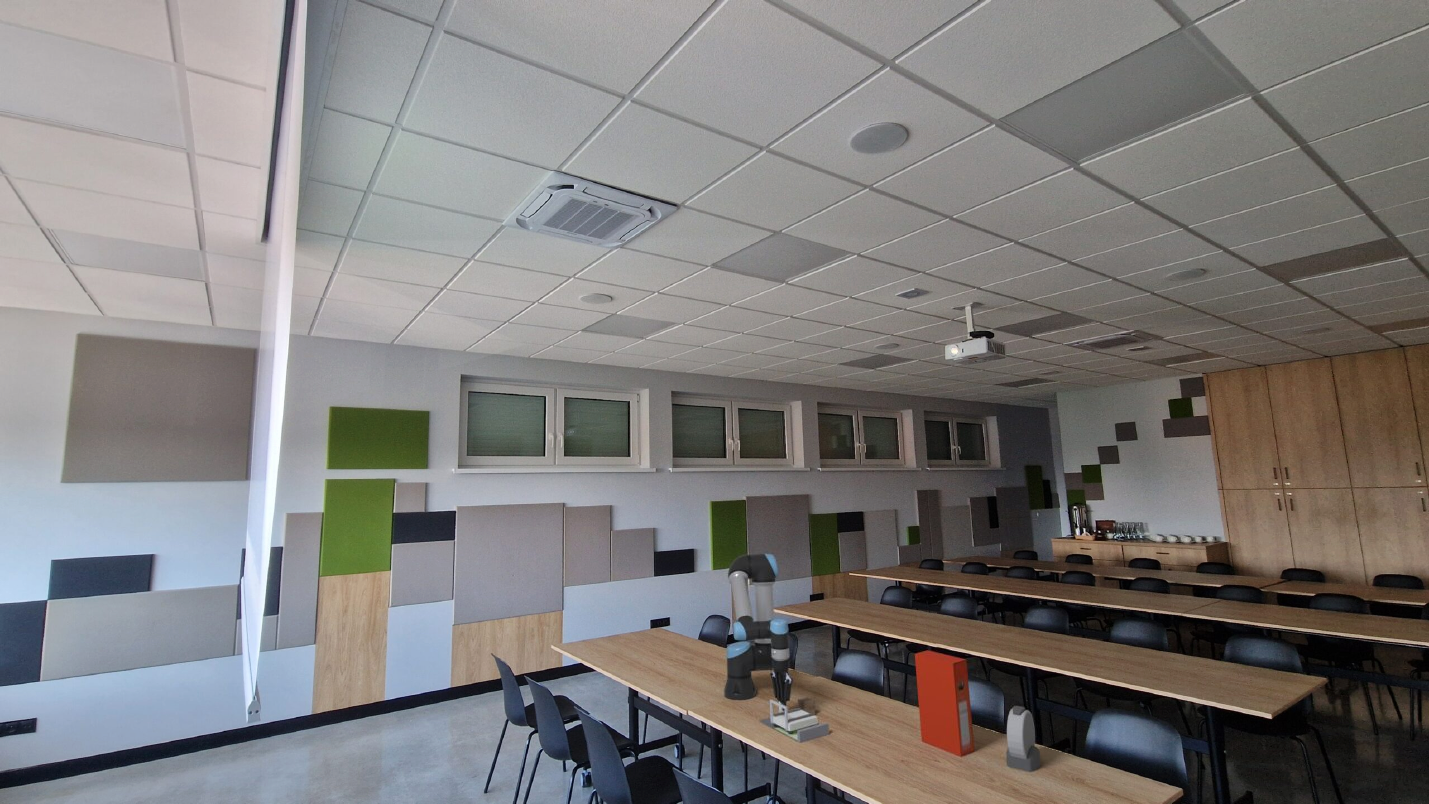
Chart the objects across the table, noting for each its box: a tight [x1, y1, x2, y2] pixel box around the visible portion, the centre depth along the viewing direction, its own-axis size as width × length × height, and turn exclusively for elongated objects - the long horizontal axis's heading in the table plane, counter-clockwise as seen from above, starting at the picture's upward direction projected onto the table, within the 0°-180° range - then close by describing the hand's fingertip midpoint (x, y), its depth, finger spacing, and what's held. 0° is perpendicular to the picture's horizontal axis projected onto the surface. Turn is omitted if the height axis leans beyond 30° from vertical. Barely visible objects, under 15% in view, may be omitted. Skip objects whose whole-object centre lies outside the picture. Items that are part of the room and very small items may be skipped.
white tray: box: [769, 699, 819, 734], centre depth 254 cm, size 13×15×10 cm
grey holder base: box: [758, 717, 830, 744], centre depth 254 cm, size 28×14×4 cm, turn 31°
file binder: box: [914, 649, 975, 758], centre depth 234 cm, size 8×17×32 cm, turn 32°
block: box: [797, 697, 816, 716], centre depth 269 cm, size 5×5×6 cm
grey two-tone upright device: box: [1005, 705, 1042, 773], centre depth 217 cm, size 16×10×18 cm, turn 141°
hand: (783, 717), depth 260 cm, fingers closed
